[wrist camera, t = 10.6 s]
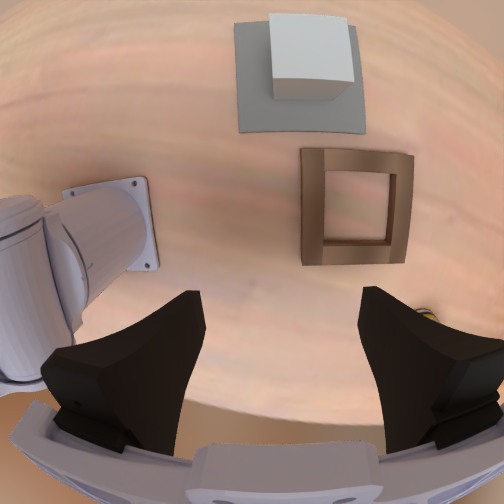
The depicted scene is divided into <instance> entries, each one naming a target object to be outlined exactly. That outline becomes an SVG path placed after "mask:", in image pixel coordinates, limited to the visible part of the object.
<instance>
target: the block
mask: <svg viewBox="0 0 504 504" xmlns="http://www.w3.org/2000/svg"><path fill="white" fill-rule="evenodd" d="M269 25H270V42H271V58H272V76H273V95H274V100H320V101H332V100H333V99H334V98H335V97H337V96H338V95H339V94H340V93H342V92H343V91H344V90H345V89H346V88H348V87H349V86H350V85H351V84H353V83H354V72H353V62H352V53H351V45H350V38H349V31H348V25H347V19H346V18H345V17H337V16H327V15H316V14H296V13H269Z"/></svg>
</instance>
